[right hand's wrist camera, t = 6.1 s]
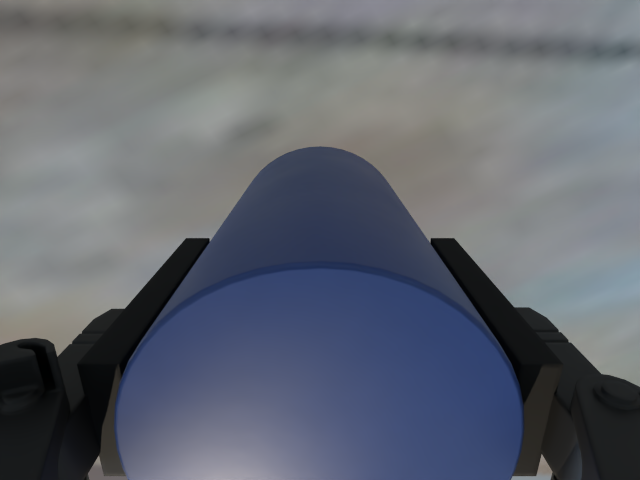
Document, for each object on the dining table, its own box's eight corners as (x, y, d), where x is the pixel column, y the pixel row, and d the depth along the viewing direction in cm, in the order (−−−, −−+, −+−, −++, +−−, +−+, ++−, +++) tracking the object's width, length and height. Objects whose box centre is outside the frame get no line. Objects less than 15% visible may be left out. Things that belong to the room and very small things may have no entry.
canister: (358, 318, 21) (408, 617, 9) (218, 266, 20) (73, 526, 8) (428, 185, 18) (614, 360, 7) (272, 118, 17) (178, 188, 6)
